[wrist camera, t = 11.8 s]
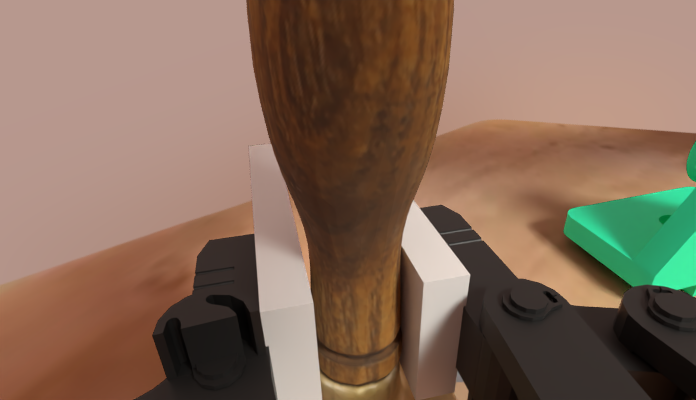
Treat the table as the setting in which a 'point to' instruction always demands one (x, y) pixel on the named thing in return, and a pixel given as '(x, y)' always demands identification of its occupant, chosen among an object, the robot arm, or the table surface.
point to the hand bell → (353, 161)
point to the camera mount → (643, 235)
